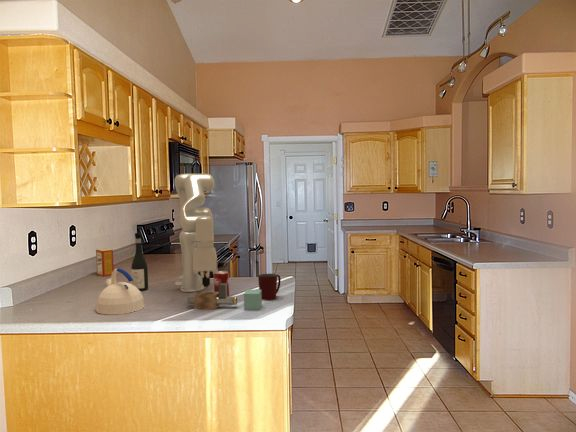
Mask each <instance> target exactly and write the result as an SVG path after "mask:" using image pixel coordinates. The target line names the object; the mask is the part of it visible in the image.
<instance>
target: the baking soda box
mask: <svg viewBox="0 0 576 432" xmlns="http://www.w3.org/2000/svg"><path fill="white" fill-rule="evenodd" d="M95 260H96V275H97V276H101V277H111V274H112V272H113V271H114V270H115V269H114V249H109V248H100V249H99V248H98V249H95Z"/></svg>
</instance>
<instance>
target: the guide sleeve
mask: <svg viewBox="0 0 576 432" xmlns="http://www.w3.org/2000/svg"><path fill="white" fill-rule="evenodd" d="M193 297H194V302H195V305H194V310H217V309H218V308H219V306H220V305H217V304H216V297H219V292H214V291H197V292H196V293H195V294H194V296H193Z"/></svg>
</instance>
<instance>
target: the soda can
mask: <svg viewBox="0 0 576 432" xmlns="http://www.w3.org/2000/svg"><path fill="white" fill-rule="evenodd" d="M220 283H227V297H230V273H229V272H228V271H227V270H218V272H217V273H214V274H213V292H219V284H220Z"/></svg>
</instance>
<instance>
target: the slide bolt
mask: <svg viewBox="0 0 576 432" xmlns="http://www.w3.org/2000/svg"><path fill="white" fill-rule="evenodd" d="M216 304H217V305H219V306H220V305H223V306H224V305H229V306H230V305H234V306H235V305H238V296H229V297H227V283H220V284H219V297H216ZM186 305H194V306H195V302H194V296H187V297H186Z"/></svg>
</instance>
